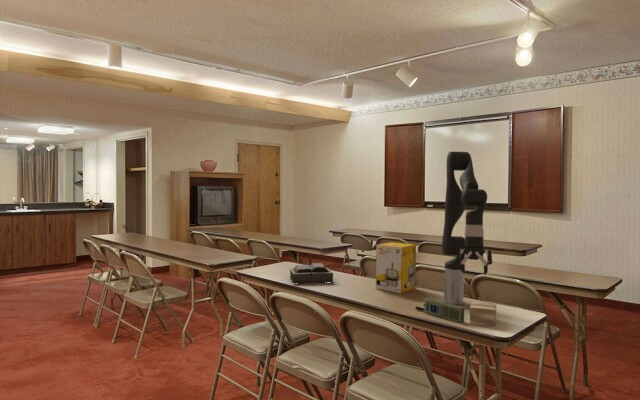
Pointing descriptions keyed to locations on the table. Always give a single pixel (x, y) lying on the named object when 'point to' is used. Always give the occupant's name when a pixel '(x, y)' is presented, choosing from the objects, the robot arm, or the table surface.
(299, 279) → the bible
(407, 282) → the packaging box
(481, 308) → the birch block
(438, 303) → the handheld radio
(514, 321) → the table surface
